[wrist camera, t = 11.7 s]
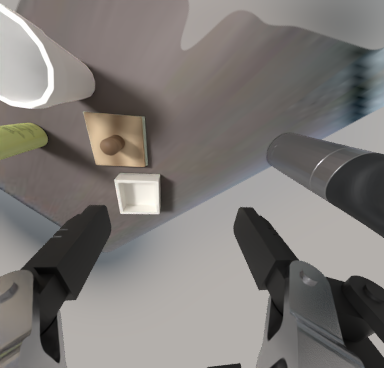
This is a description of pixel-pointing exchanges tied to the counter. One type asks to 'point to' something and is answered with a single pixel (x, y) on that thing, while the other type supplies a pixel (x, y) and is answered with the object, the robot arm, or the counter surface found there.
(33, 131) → the tube
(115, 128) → the lid
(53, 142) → the counter surface
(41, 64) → the foam cup
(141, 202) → the dish
